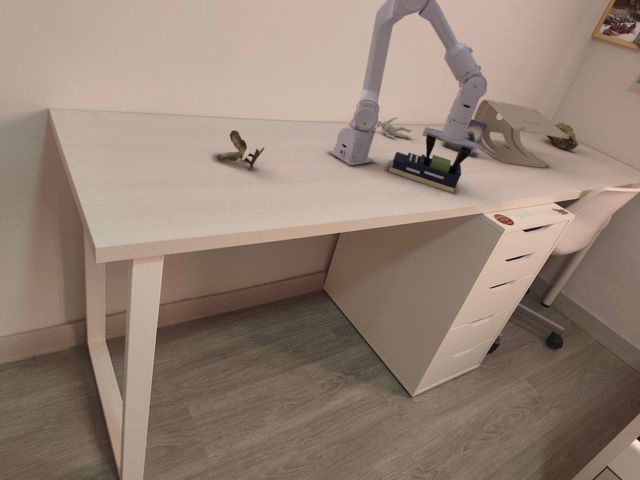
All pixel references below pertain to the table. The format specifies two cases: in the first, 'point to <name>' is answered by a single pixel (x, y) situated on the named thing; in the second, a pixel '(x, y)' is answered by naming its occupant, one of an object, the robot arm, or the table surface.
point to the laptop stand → (513, 131)
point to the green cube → (440, 163)
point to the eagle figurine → (240, 150)
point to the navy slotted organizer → (424, 171)
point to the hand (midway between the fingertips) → (438, 168)
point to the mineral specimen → (563, 142)
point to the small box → (471, 134)
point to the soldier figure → (392, 129)
